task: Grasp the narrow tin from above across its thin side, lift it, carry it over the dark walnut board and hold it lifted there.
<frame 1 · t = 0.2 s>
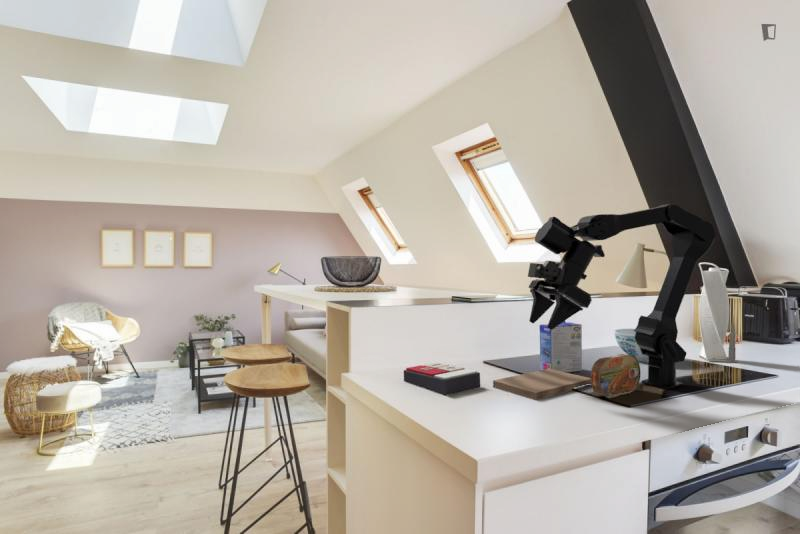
hand: (539, 325, 109), 14 cm above the worktop, tool tilted 30°, fingers open, 9 cm apart
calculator: (441, 386, 114), on the worktop
walnut board: (542, 386, 112), on the worktop
skyscraper: (713, 359, 141), on the worktop
tin: (615, 395, 106), on the worktop
ink cartridge box: (560, 371, 127), on the worktop
chinaware: (642, 359, 141), on the worktop
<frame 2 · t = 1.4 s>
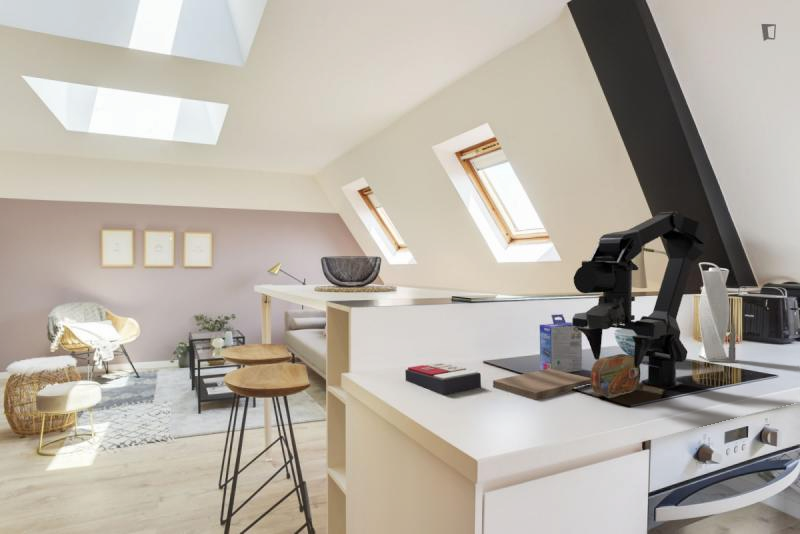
hand: (616, 363, 106), 7 cm above the worktop, tool pointing down, fingers open, 9 cm apart
nothing on the worktop moved.
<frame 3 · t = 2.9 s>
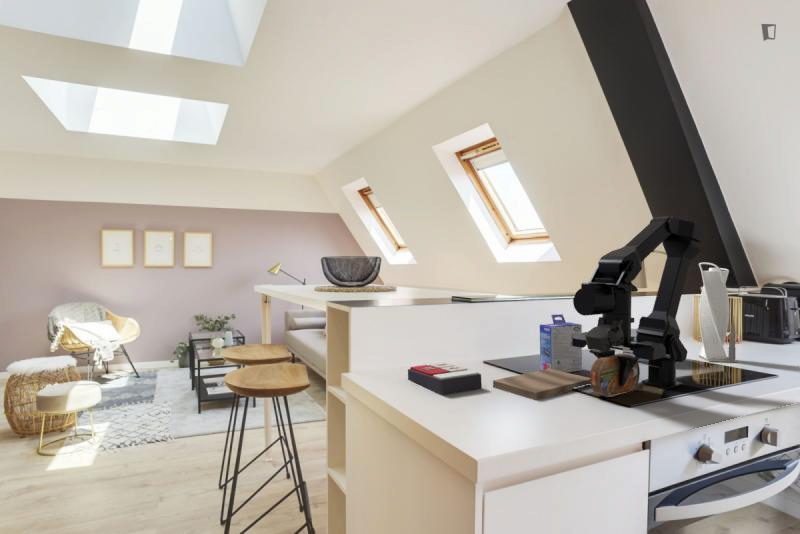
hand: (615, 384, 106), 2 cm above the worktop, tool pointing down, fingers closed on tin, 2 cm apart
tin: (614, 394, 107), on the worktop, touching gripper
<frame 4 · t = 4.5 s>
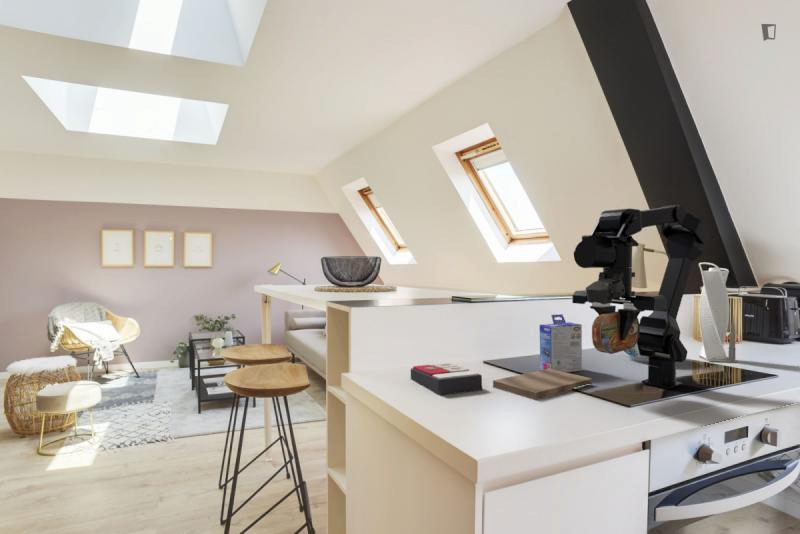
hand: (616, 339, 106), 12 cm above the worktop, tool pointing down, fingers closed on tin, 2 cm apart
tin: (615, 351, 106), point 9 cm above the worktop, touching gripper
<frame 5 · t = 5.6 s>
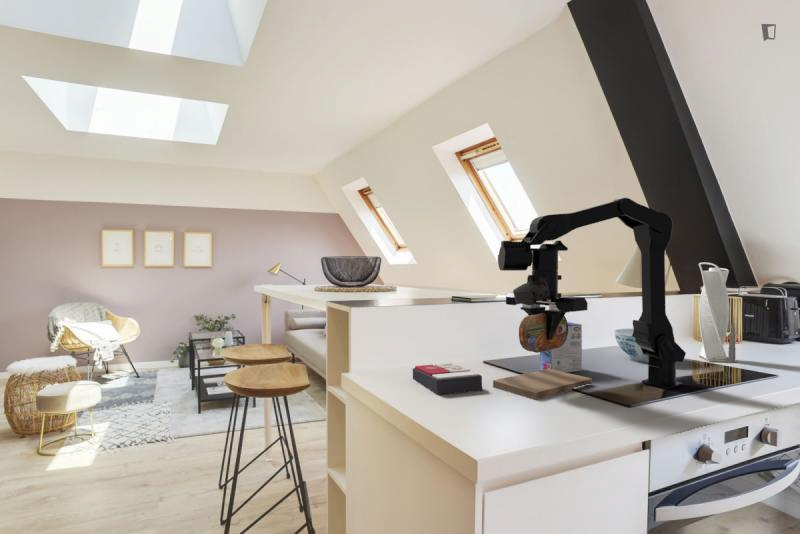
hand: (544, 338, 112), 11 cm above the worktop, tool pointing down, fingers closed on tin, 2 cm apart
tin: (543, 350, 112), point 8 cm above the worktop, touching gripper
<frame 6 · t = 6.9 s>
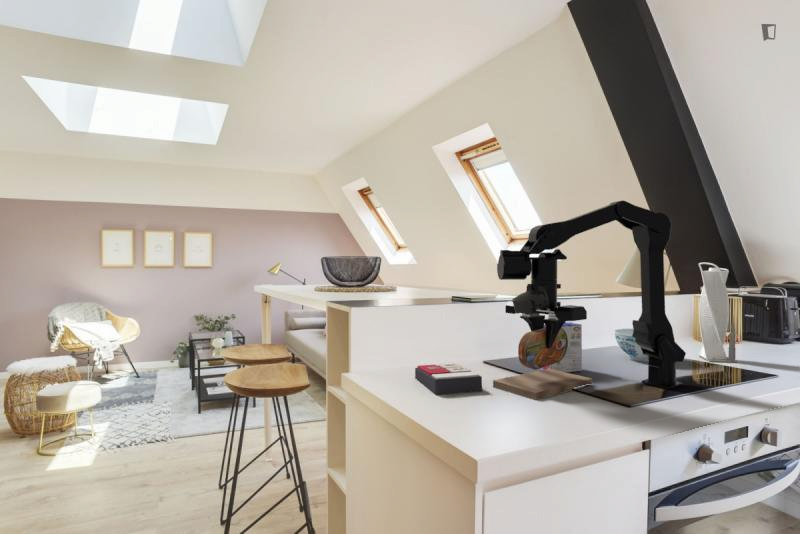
hand: (543, 347, 112), 9 cm above the worktop, tool pointing down, fingers closed on tin, 2 cm apart
tin: (542, 365, 113), point 5 cm above the worktop, touching gripper
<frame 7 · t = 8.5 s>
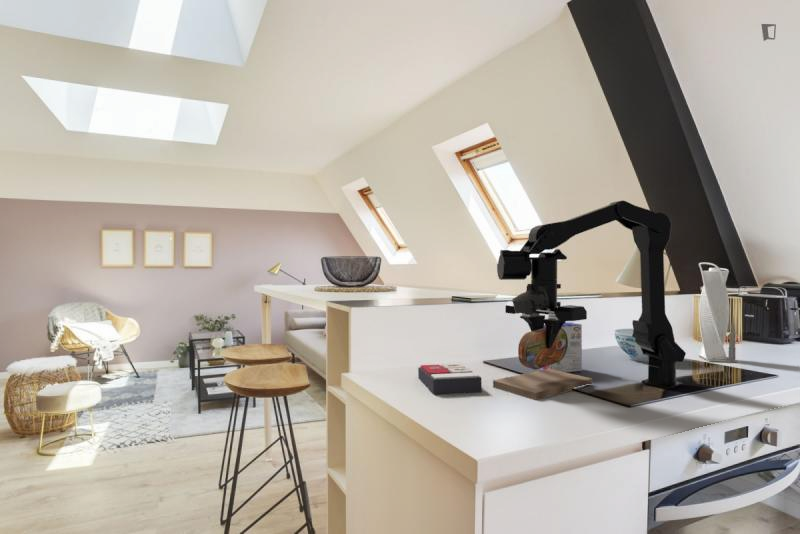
hand: (543, 347, 112), 9 cm above the worktop, tool pointing down, fingers closed on tin, 2 cm apart
tin: (542, 365, 113), point 5 cm above the worktop, touching gripper
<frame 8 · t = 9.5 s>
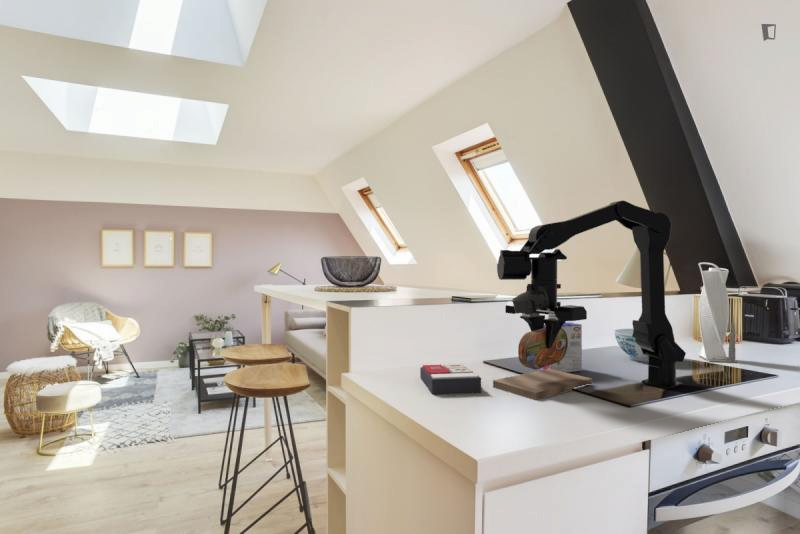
hand: (543, 347, 112), 9 cm above the worktop, tool pointing down, fingers closed on tin, 2 cm apart
tin: (542, 365, 113), point 5 cm above the worktop, touching gripper
at the end: the gripper is holding tin; tin point 4.7 cm above the worktop; tin 0.5 cm from the walnut board (horizontally) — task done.
